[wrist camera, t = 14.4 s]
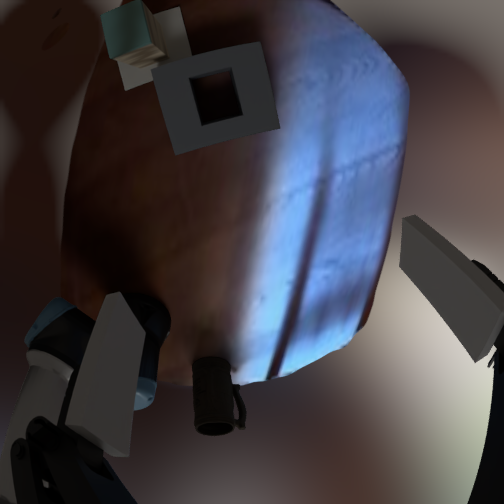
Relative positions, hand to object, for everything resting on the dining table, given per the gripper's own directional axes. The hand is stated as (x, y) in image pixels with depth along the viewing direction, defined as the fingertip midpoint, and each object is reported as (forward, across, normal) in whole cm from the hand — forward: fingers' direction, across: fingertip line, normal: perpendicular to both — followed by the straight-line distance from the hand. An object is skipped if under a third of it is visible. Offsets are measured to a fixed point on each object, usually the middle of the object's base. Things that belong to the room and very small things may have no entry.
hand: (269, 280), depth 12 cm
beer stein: (+39, -18, -57) cm, 71 cm away
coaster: (+39, -8, +20) cm, 44 cm away
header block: (+39, 0, +8) cm, 40 cm away
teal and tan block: (+38, -8, +20) cm, 44 cm away
